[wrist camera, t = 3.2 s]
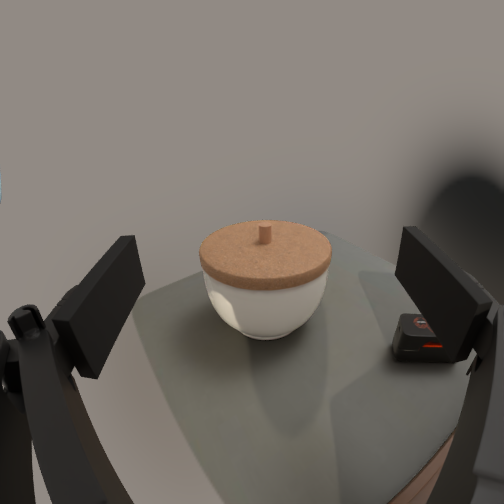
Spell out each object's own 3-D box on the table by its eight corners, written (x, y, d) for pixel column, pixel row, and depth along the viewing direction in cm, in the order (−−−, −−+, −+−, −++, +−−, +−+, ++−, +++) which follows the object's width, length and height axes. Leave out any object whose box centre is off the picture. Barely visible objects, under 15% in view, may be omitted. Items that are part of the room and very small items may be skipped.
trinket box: (240, 377, 22) (230, 272, 18) (193, 305, 30) (180, 217, 26) (346, 329, 26) (362, 233, 22) (283, 277, 35) (284, 197, 30)
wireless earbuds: (465, 364, 20) (479, 336, 18) (393, 364, 22) (403, 335, 20) (453, 330, 24) (464, 303, 22) (388, 328, 26) (396, 299, 24)
